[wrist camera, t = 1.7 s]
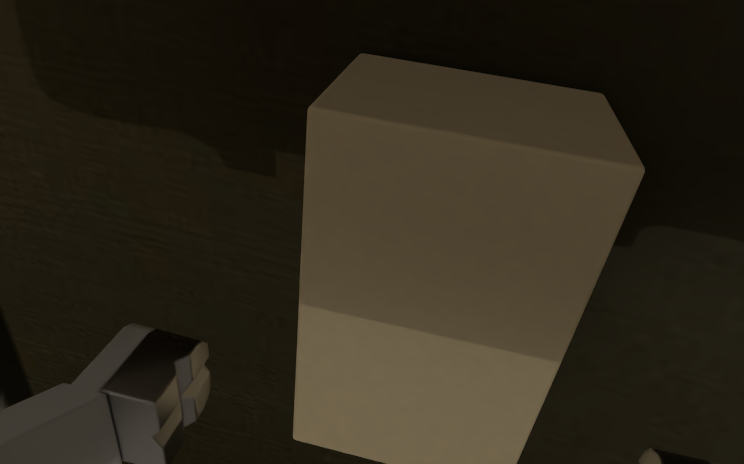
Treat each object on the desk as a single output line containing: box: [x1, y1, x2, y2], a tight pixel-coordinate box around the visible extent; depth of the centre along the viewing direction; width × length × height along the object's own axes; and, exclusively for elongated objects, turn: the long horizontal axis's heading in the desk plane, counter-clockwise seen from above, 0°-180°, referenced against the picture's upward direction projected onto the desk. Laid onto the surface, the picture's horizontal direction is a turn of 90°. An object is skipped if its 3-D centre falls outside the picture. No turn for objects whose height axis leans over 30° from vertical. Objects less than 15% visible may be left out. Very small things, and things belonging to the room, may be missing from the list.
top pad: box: [293, 53, 645, 464], centre depth 12 cm, size 9×6×4 cm, turn 173°
